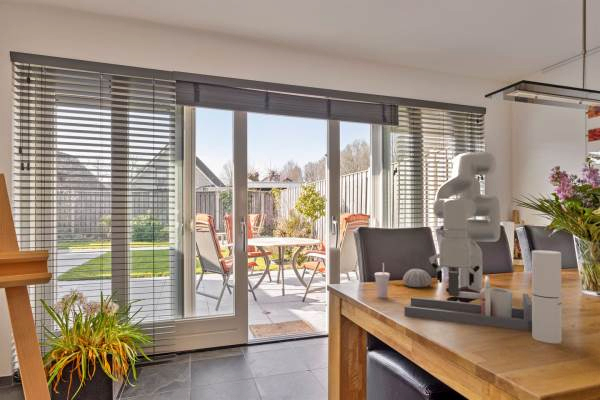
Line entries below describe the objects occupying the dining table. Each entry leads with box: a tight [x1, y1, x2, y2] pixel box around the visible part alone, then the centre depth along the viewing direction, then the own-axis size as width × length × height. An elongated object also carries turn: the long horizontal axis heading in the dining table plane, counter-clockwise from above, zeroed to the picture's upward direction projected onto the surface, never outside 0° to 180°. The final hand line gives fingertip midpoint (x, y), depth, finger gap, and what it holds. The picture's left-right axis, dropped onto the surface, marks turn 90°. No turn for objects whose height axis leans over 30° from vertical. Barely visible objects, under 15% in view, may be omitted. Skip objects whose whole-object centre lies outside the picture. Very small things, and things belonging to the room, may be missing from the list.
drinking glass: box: [490, 287, 514, 318], centre depth 125 cm, size 7×7×10 cm
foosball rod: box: [448, 270, 491, 315], centre depth 129 cm, size 9×13×14 cm
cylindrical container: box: [531, 249, 563, 344], centre depth 108 cm, size 7×7×25 cm
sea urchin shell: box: [402, 268, 433, 288], centre depth 178 cm, size 13×14×8 cm
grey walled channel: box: [404, 275, 532, 332], centre depth 129 cm, size 15×38×13 cm, turn 65°
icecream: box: [445, 286, 480, 303], centre depth 146 cm, size 7×8×15 cm
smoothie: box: [373, 262, 391, 299], centre depth 157 cm, size 6×6×14 cm
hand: (455, 283), depth 131 cm, fingers open, 9 cm apart
